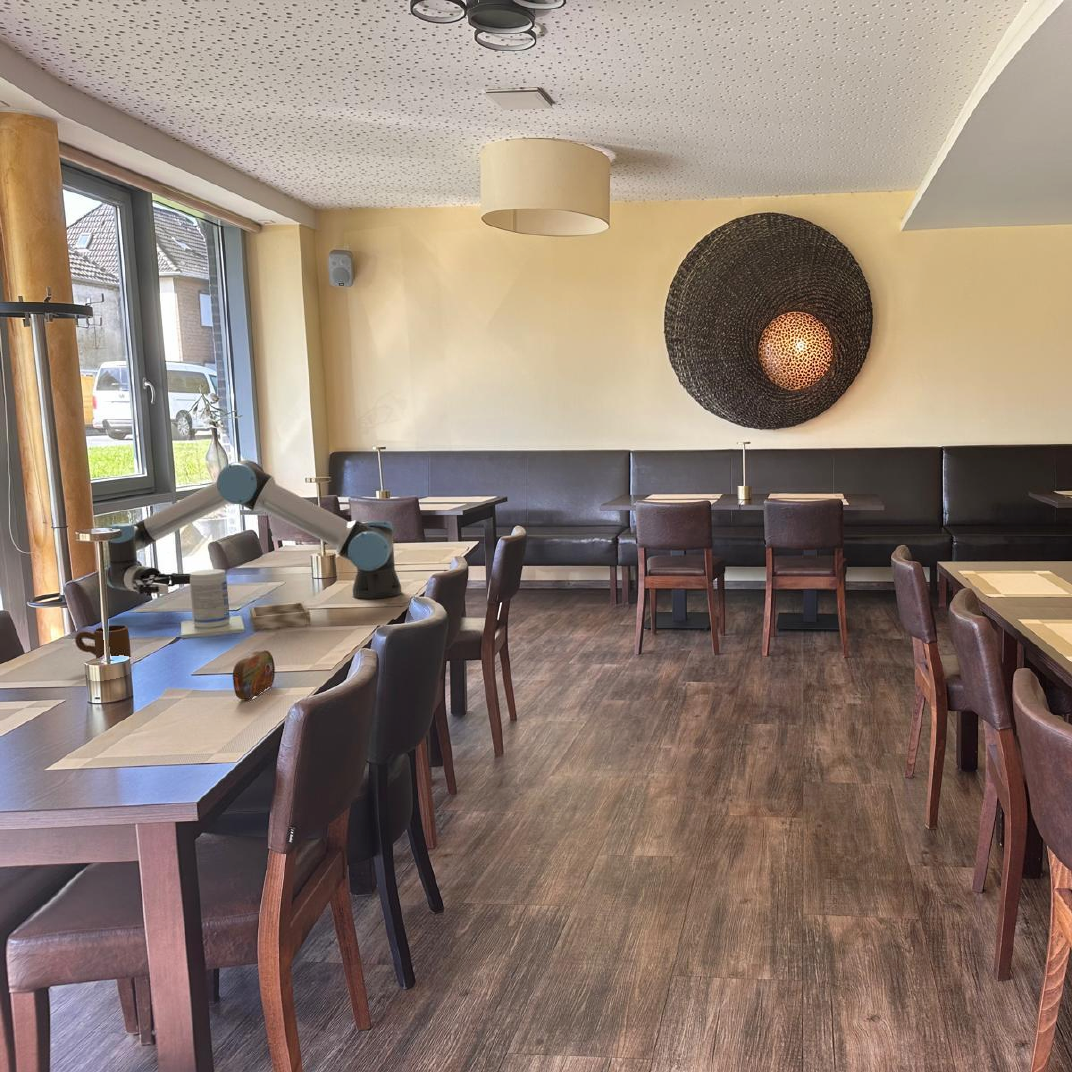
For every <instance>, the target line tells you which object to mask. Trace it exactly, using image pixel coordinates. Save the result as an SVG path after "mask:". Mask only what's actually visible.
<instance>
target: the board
mask: <svg viewBox="0 0 1072 1072" xmlns="http://www.w3.org/2000/svg"><path fill="white" fill-rule="evenodd" d="M180 627H181V628H180V633H181V634H180V636H181V637H180V639H182V640H183V639H192V638H202V637H210V636H220V635H221V636H223V635H230V634H241V633H245V626H244V622H243V618H242V616H241V615H236V616H234V615H233V616H230V621H229V623H228V624H226V625H223V626H219V627H212V628H200V627H196V626H195V625H194V622H193V619H191V620H182V621H181V626H180Z"/></svg>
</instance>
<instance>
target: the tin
mask: <svg viewBox="0 0 1072 1072" xmlns="http://www.w3.org/2000/svg"><path fill="white" fill-rule="evenodd" d="M275 669H276V667H275V662H274V658H273V655H272V654H271V652H269V651H268V650H258V651H253V652H252V653H250V654H249V655H247V656H245V657H244V658H243V659H240V660H238V661H237V662H236V663H235V666H234V667H233V671H232V681H233V682H232V683H233V688H234V693H235V696H236V697H237V698H238V699H239V700H242V699H248V700H252V698H253V697H254V696H258V695H259V694H260V693H261V692H263V691H264V690H265V689H267V688H268V687H271V688H272V686H273V683H274V680H275V675H276V670H275ZM258 697H259V696H258ZM252 701H253V700H252Z"/></svg>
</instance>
